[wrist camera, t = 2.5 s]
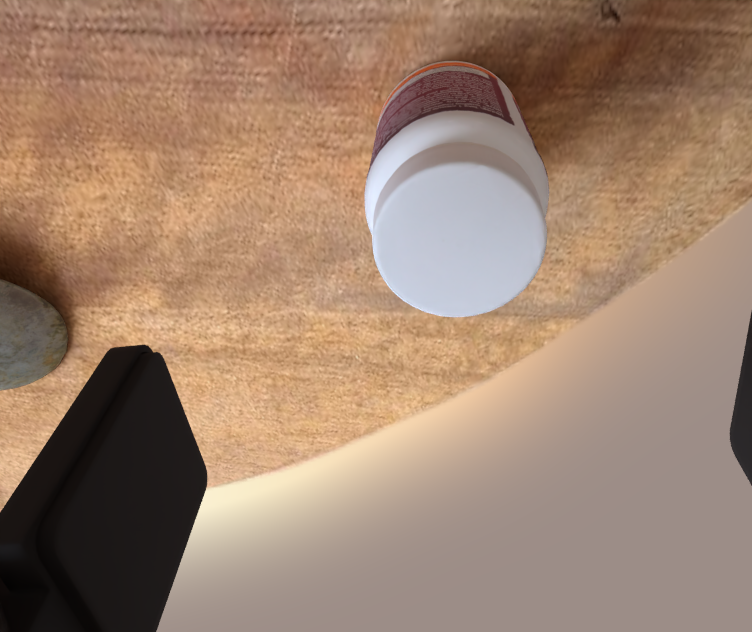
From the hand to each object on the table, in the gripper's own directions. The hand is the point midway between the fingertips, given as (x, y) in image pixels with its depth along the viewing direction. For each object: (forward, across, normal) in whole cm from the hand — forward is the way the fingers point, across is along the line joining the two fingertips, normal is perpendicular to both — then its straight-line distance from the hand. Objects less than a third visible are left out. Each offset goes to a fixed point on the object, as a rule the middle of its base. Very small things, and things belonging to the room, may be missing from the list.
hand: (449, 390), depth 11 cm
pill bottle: (+14, 0, 0) cm, 14 cm away
